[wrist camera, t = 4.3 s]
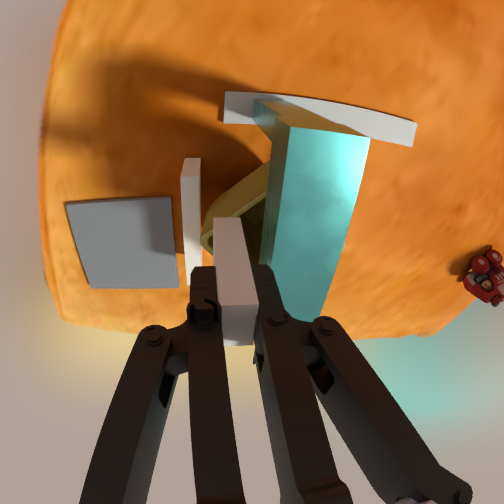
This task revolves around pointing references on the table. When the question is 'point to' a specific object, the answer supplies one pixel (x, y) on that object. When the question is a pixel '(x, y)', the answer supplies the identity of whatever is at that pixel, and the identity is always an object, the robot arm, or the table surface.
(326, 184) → the gate
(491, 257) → the toy fire truck
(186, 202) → the white bars
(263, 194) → the flower pot
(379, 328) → the table surface
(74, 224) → the mat
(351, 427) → the robot arm
